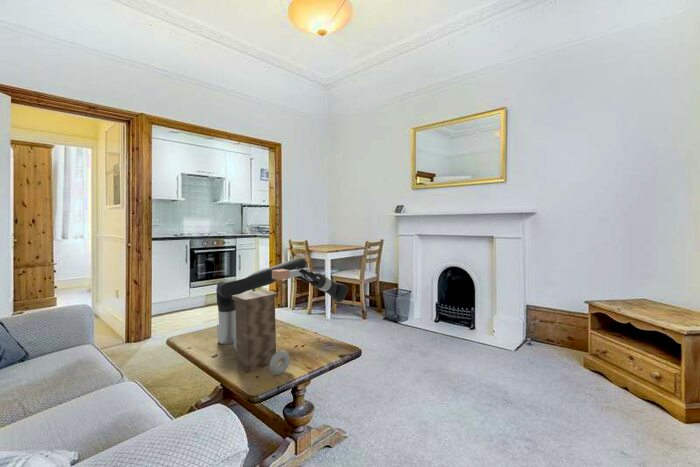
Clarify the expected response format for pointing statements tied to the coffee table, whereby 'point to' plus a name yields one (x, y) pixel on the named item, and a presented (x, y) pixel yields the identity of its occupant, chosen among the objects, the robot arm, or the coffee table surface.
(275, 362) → the donut
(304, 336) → the coffee table surface
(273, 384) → the coffee table surface
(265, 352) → the walnut stand
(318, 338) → the coffee table surface
